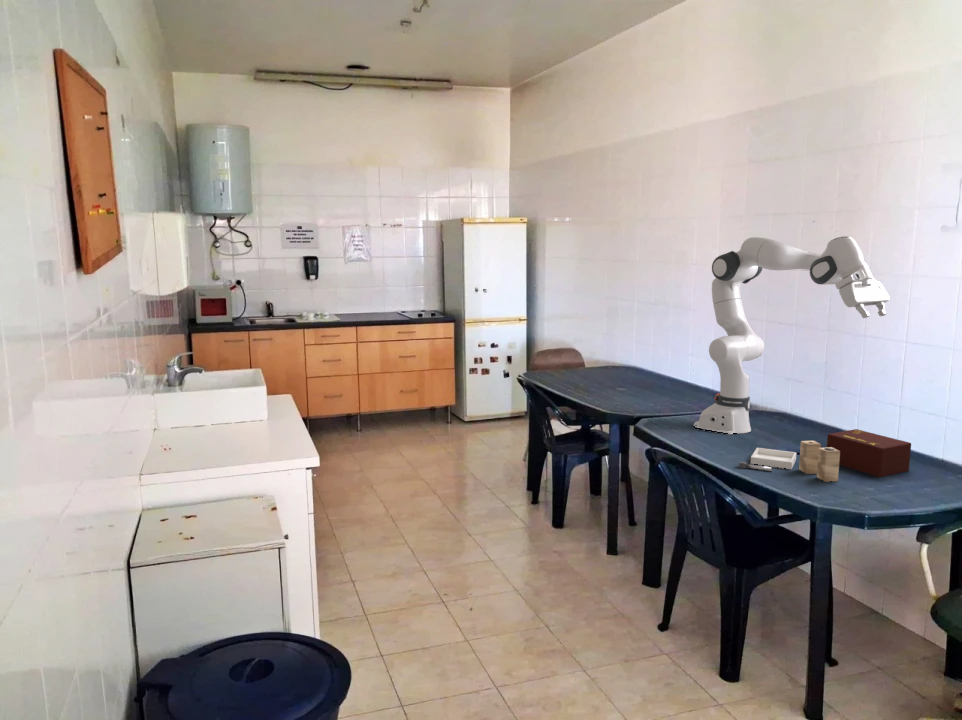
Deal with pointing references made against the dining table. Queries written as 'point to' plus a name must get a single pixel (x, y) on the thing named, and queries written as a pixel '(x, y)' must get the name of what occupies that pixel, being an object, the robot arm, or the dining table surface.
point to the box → (871, 452)
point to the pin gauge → (754, 466)
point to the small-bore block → (809, 456)
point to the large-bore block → (828, 464)
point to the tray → (773, 458)
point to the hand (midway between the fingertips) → (875, 316)
